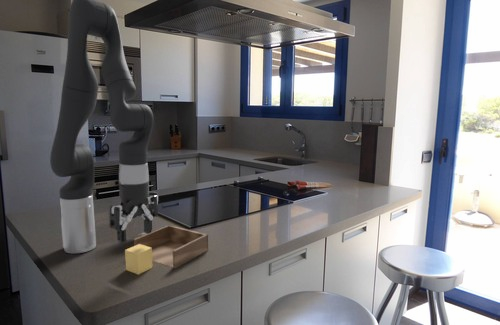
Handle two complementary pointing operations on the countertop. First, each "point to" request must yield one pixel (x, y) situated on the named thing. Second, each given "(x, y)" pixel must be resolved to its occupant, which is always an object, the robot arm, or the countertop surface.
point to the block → (138, 259)
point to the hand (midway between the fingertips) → (135, 237)
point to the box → (174, 245)
